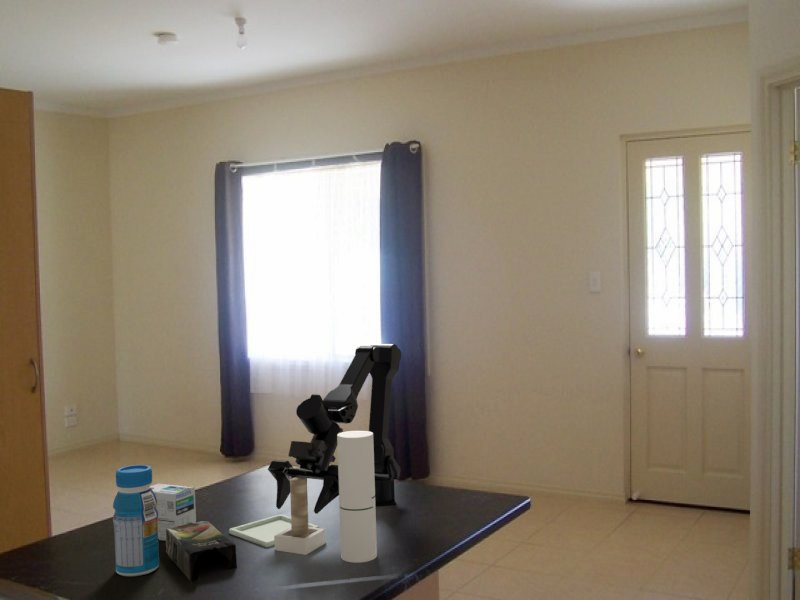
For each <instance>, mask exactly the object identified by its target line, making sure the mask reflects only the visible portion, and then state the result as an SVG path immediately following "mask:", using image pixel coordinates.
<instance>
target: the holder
mask: <svg viewBox="0 0 800 600" xmlns="http://www.w3.org/2000/svg"><path fill="white" fill-rule="evenodd" d="M308 529H309V536H307V537H305V538H299V537H292V529H291V527H290V528H288V529H286V530H284V531H283V532H281V533H279V534H277V535H275V536H274V543H275V545H274V551H278V552H285V553H286V552H287V553H292V554H298V555H304V556H305V555H306V556H307V555H308V554H309V553H310V554H311V553H312V552H314V551H315V550H316V549H318V548H320V547H321V546H323V545H325V544H326V543H327V542H326V528H320V527H319V528H314V527H308Z"/></svg>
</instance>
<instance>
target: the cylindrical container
mask: <svg viewBox="0 0 800 600" xmlns="http://www.w3.org/2000/svg"><path fill="white" fill-rule="evenodd" d="M337 462H338V463H337V465H338V476H339V496H338V497H339V498H338V500H339V501H338V503H339V506H338V507H339V529H340V530H339V533H340V535H339V536H340V557H341V560H343V561H344V562H349V563H367V562H371V561H373V560H374V559H376V558H377V557H378V556H377V555H378V547H377V545H378V543H377V517H376V516H377V514H376V513H377V512H376V506H375V476H374V443H373V433H372V432H370V431H369V430H348V431H343V432H341V433H339V434H337Z"/></svg>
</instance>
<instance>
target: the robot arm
mask: <svg viewBox="0 0 800 600" xmlns="http://www.w3.org/2000/svg"><path fill="white" fill-rule="evenodd" d="M401 359H402V351H401V349H400V348H399V347H398V346H397V344H395V343H371V344H370V345H360V346H357V348H356V349H355V352H354V356H353V358H352V360H351V361H350V365H349V366H348V368H347V369H346V371H345V373H344V375H343V377H342V379H341V380H340V383H339V384H338V385H337V387H335V388H334V389H332V390H330V391H329V392H327V394H326V395H325V397H324V398H322V396H321V395H320V394H317V393H316V394H311V395H310V397H309V398H307V399H305V400H303V401H302V402H301V403H300V404H298V405H297V408H296V410H295V411H296V412H295V413H296V416H297V418H298V419H299V420H300V422H301V423H302V424H303V426H304V427H305V429H306V430H307V432H308V433H310V434H311V435H312V437H311V440H310V442H309V441H300V440H299V441H298V440H297V441H296V440H291V441H290V447H289V451H288V457H291V458H295V463H296V464H297V465H298V466H299V467H294V466H293V465H292V463H291V462H290V461H289V460H286V459H274V460H271V462H270V463H269V465H268V467H267V470H268V472H269V474H271V476H272V477H273V478H274V479H275V481H276V502H275V503H276V504H275V506H276V509H277V510H281V508H282V507H283V505H284V504H285V503H286V501H287V499H288V497H289V496H290V479H292V478H296V477H304V478H307V479H311V480H321V481H322V482H323V483H322V488H321V491H320V492H319V494H318V495H319V496H318V497H317V500H316V502H315V506H314V508H313V509H314V510H313V512H314V514H316V515H318V514H319V513H320V512H321V511H322V510H323V509H324V508H326V506H328V505H329V504H330V503H331V502H332V501H333V500H335V499H336V498H338V497H339V476H338V464H331V463H335V461H336V457H335V455H334V454H335V452H336V450H337V448H338V445H337V434H339V433H341V432H344V429H343V428H342V427H341V426H340V425H339V424H351V423H352V422H353V420H354V419H355V417H356V415H357V414H356V413H357V410H358V408H359V404H358V399H357V398H358V396H359V394H360V392H361V390H362V388H363V386H364V385H365V383H366V380H367V378H368V376H369V374H370V376H371V394H370V406H369V407H370V409H369V418H368V419H369V421H368V422H369V423H368V431H370V432H372V433H373V443H374V476H375V507H377V506H386V505H387V506H388V505H396V504H397V500H396V498H395V497H396V494H395V492H396V491H395V481H396V480H399V479H400V478H399V477H400V475H401V470H402V469H401V466H400V465H399V463H398V462H397V460H396V458H395V456H394V455H395V453H394V452H395V451H394V447H393V444H392V443H391V441H390V439H389V428H390V427H389V426H390V425H389V424H390V411H391V397H392V395H391V393H392V383H393V379H394V377H395V376H396V374H397V373H398V371H399V370H400V362H401Z"/></svg>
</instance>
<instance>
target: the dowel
mask: <svg viewBox="0 0 800 600" xmlns="http://www.w3.org/2000/svg"><path fill="white" fill-rule="evenodd" d="M289 496H290V517H291V529H292V537H299V538H305V537H307V536H309V529H308V523H309V502H308V500H309V499H308V478H304V477H296V478H292V479H290V494H289Z"/></svg>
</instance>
